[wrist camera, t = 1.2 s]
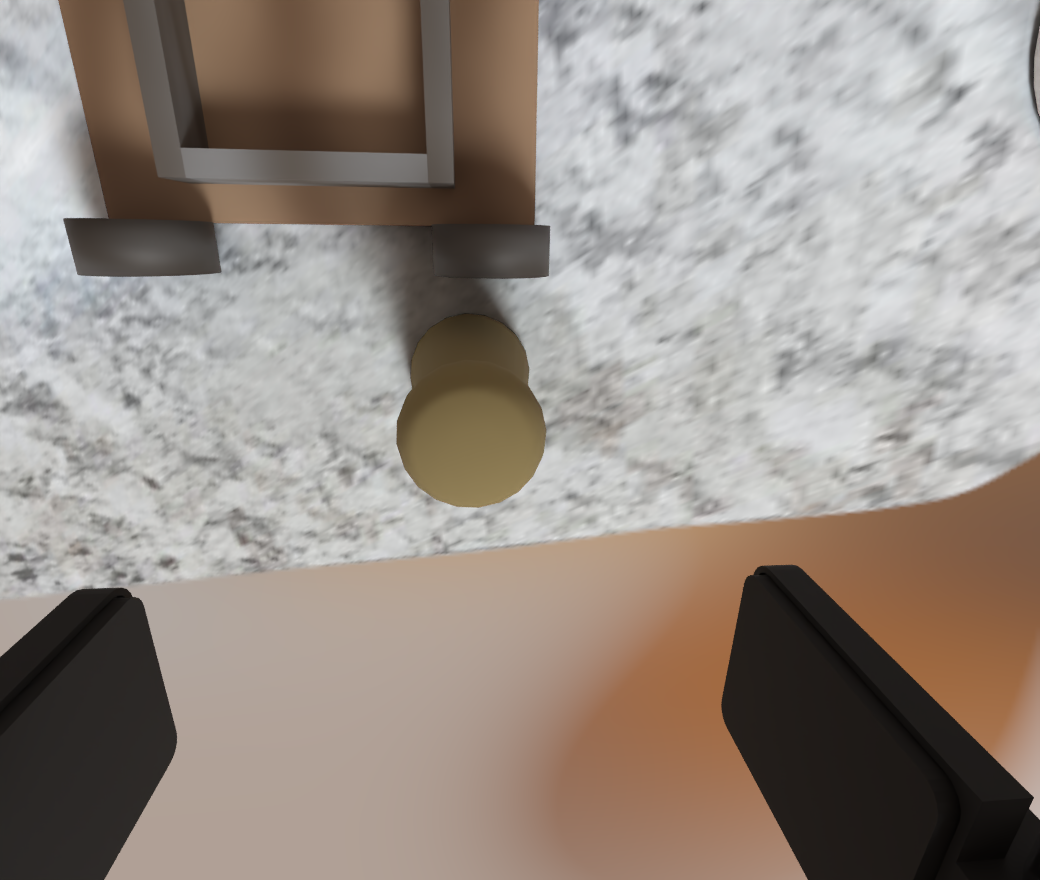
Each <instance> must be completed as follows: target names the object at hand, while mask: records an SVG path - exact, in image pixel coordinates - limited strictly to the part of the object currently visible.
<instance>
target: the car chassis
mask: <svg viewBox="0 0 1040 880" xmlns="http://www.w3.org/2000/svg"><path fill="white" fill-rule="evenodd" d="M58 1H59V5H60V9H61V14H62V18H63V22H64V27H65V31H66V35H67V40H68V44H69V48H70V53H71V57H72V61H73V66H74V70H75V74H76V79H77V83H78V87H79V92H80V96H81V100H82V105H83V109H84V113H85V118H86V122H87V126H88V131H89V135H90V139H91V144H92V148H93V152H94V157H95V161H96V165H97V170H98V174H99V178H100V183H101V187H102V191H103V195H104V200H105V204H106V208H107V213H108V217H109V219H105V218H65V219H63V220H64V224H65V228H66V232H67V235H68V239H69V243H70V247H71V251H72V255H73V259H74V263H75V266H76V270H77V274H78V275H83V276H112V277H137V276H180V275H200V274H213V273H220V272H221V266H220V261H219V255H218V249H217V243H216V237H215V231H214V225H213V223H247V224H320V225H393V226H432V245H433V269H434V275H436V276H443V277H456V278H490V279H508V278H537V277H546V276H549V246H550V226H545V225H534V221H535V167H536V113H537V60H538V6H539V0H58Z"/></svg>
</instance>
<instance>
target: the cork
mask: <svg viewBox="0 0 1040 880" xmlns="http://www.w3.org/2000/svg"><path fill="white" fill-rule="evenodd" d="M528 378H529V366H528V361H527V356H526V352H525V350H524V348H523V346H522V345H521V343H520V341H519V340H518V338H517V336H516V335H515V334H514V333H513V332H512V331H511V330H509V329H508V328H507V327H506V326H505V325H504V324H503V323H501V322H499V321H496V320H494V319H492V318H489V317H487V316H485V315H475V314H461V315H457V316H453V317H448V318H445V319H444V320H442V321H441V322H439V323H437V324H436V325H434V326H432V327H431V328H430V329H429V330H428V331H427V332H426V333H425V335H424V336H423V337H422V338H421V340H420V341H419V342H418V344H417V347H416V349H415V352H414V355H413V357H412V360H411V383H412V390H411V391H410V392H409V394H408V395H407V397H406V399H405V401H404V404H403V407H402V409H401V412H400V415H399V417H398V420H397V446H398V450H399V453H400V456H401V459H402V462H403V465H404V468H405V470H406V471H407V472H408V474H409V475H410V477H411V478H412V479H413V481H414V482H415V483H416V485H417V486H418V487H419V488H421V489H422V490H423V491H425V492H426V493H427V494H429V495H430V496H432V497H433V498H434V499H436V500H439V501H442V502H445V503H448V504H451V505H453V506H456V507H477V508H479V507H483V506H487V505H491V504H495V503H500V502H501V501H503V500H505V499H507V498H508V497H510V496H512V495H514V494H515V493H517V492H519V491H520V490H521V489H522V487H523V486H524V485H525V484H526V483H527V482H528V481H529V480H530V479H531V478H532V477H533V475H534V473H535V471H536V469H537V467H538V465H539V463H540V461H541V458H542V456H543V453H544V446H545V437H546V427H545V422H544V417H543V413H542V409H541V407H540V405H539V403H538V401H537V399H536V398H535V396H534V395H533V393H532V391H531V390H530V388H529V386H528Z"/></svg>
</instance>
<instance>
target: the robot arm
mask: <svg viewBox="0 0 1040 880" xmlns="http://www.w3.org/2000/svg"><path fill="white" fill-rule="evenodd" d="M1034 90H1035V96H1036V102H1037V108H1038V113H1039V116H1040V28H1039V34H1038V39H1037V45H1036V51H1035V57H1034ZM721 705H722V713H723V719H724V722H725V724H726V726H727V729H728V731H729V732H730V734H731V736H732V738H733V740H734V742H735V744H736V746H737V747H738V749H739V751H740V753H741V755H742V757H743V759H744V761H745V762H746V764H747V766H748V768H749V770H750V772H751V774H752V776H753V777H754V779H755V781H756V783H757V785H758V787H759V788H760V790H761V792H762V794H763V796H764V798H765V800H766V802H767V804H768V805H769V807H770V809H771V811H772V813H773V815H774V817H775V818H776V821H777V822H778V824H779V826H780V828H781V830H782V832H783V834H784V836H785V837H786V839H787V841H788V843H789V845H790V847H791V849H792V851H793V852H794V854H795V856H796V858H797V860H798V862H799V864H800V866H801V867H802V869H803V871H804V873H805V875H806V877H807V879H808V880H1040V820H1039V819H1038V818H1037V817H1036V816H1035V815H1034V814H1033V813H1032V812H1031V811H1030V810H1029V807H1030V805H1031V803H1032V801H1033V799H1034V797H1033V796H1032V795H1031V794H1030V793H1029V792H1028V791H1027V790H1026V789H1025V788H1024V787H1023V786H1022V785H1021V784H1020V783H1019V782H1018V781H1017V780H1016V779H1014V778H1013V776H1012V775H1011V774H1010V773H1008V772H1007V771H1006V770H1005V769H1004V768H1003V767H1002V766H1001V765H1000V764H999V763H998V762H997V761H996V760H995V759H994V758H993V757H992V756H991V755H990V754H989V753H988V752H987V751H986V750H985V749H984V748H983V747H982V746H981V745H980V744H979V743H978V742H977V741H976V740H975V739H974V738H973V737H972V736H971V735H970V734H969V733H968V732H967V731H966V730H965V729H964V728H963V727H962V726H961V725H960V724H958V722H957V721H956V720H955V719H954V718H953V717H952V716H951V715H950V714H949V713H948V712H947V711H946V710H944V709H943V708H942V707H941V706H940V705H939V704H938V703H937V702H936V701H935V700H934V699H933V698H932V697H931V696H930V695H929V694H928V693H927V692H926V691H925V690H924V689H923V688H922V687H921V686H920V685H919V684H918V683H917V682H916V681H915V680H914V679H913V678H912V677H911V676H910V675H909V674H908V673H907V672H906V671H905V670H904V669H903V668H902V667H901V666H900V665H899V664H898V663H897V662H896V661H895V660H894V659H893V658H892V657H891V656H889V654H887V652H885V650H883V649H882V648H881V647H880V646H879V645H878V644H877V643H876V642H875V641H874V640H873V639H872V638H871V637H870V636H869V635H868V634H867V633H866V632H865V631H864V630H863V629H862V628H861V627H860V626H859V625H858V624H857V623H856V622H855V621H854V620H853V619H852V618H851V617H850V616H849V615H848V614H847V613H846V612H845V611H844V610H843V609H842V608H841V607H840V606H839V605H838V604H837V603H836V602H835V601H834V600H833V599H832V598H831V597H830V596H829V595H827V594H826V592H825V591H823V589H822V588H820V586H818V585H817V584H816V583H815V582H814V581H813V580H812V579H811V578H810V577H809V576H808V575H807V574H806V573H805V572H804V571H803V570H802V569H801V568H799V567H798V566H796V565H774V566H773V565H772V566H760V567H758V568H757V569H756V570H755V572H754V575H750V576H748V577H747V578H746V580H745V583H744V587H743V593H742V598H741V603H740V608H739V613H738V619H737V624H736V629H735V635H734V640H733V645H732V650H731V655H730V660H729V665H728V671H727V676H726V681H725V686H724V691H723V697H722V704H721ZM176 744H177V733H176V729H175V725H174V721H173V717H172V713H171V709H170V705H169V701H168V697H167V693H166V690H165V686H164V682H163V679H162V674H161V671H160V667H159V663H158V659H157V655H156V651H155V647H154V643H153V640H152V635H151V632H150V628H149V624H148V620H147V616H146V612H145V608H144V605H143V603H142V601H141V600H140V599H139V598H136V597H132V595H131V593H130V592H129V591H128V590H127V589H124V588H98V589H81V590H76V591H75V592H73V593H72V594H70V595H69V596H68V597H67V598H66V599H65V600H64V601H63V602H61V603H60V604H59V605H58V606H57V607H56V608H55V609H54V610H53V611H51V612H50V613H49V614H48V615H47V616H46V617H45V618H44V619H42V620H41V621H40V622H39V623H38V624H37V625H36V626H35V627H33V628H32V629H31V630H30V631H29V632H28V633H27V634H26V635H25V636H23V637H22V639H20V640H19V641H18V642H17V643H16V644H14V645H13V646H12V647H11V648H10V649H9V650H8V651H7V652H6V653H5V654H3V655H2V656H1V657H0V880H104V879H105V877H106V875H107V874H108V872H109V870H110V868H111V867H112V865H113V863H114V861H115V860H116V858H117V856H118V854H119V853H120V851H121V848H122V847H123V845H124V843H125V842H126V840H127V838H128V837H129V835H130V833H131V831H132V830H133V828H134V826H135V824H136V822H137V821H138V819H139V817H140V815H141V814H142V812H143V810H144V808H145V807H146V805H147V803H148V801H149V800H150V798H151V796H152V794H153V792H154V791H155V789H156V787H157V785H158V784H159V782H160V780H161V778H162V777H163V775H164V773H165V771H166V770H167V768H168V766H169V764H170V762H171V760H172V758H173V756H174V753H175V749H176Z"/></svg>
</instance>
